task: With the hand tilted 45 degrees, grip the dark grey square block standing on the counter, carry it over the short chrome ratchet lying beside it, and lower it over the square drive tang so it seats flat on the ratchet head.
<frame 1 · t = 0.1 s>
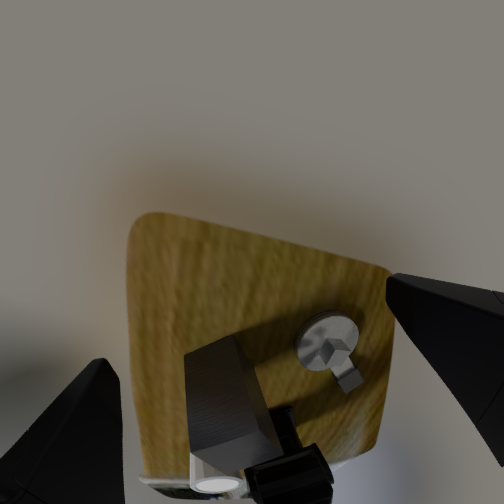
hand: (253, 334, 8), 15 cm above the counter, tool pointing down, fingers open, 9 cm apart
dark grey square block: (219, 362, 26), on the counter
white tapered cup: (209, 444, 32), on the counter
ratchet: (323, 337, 28), on the counter
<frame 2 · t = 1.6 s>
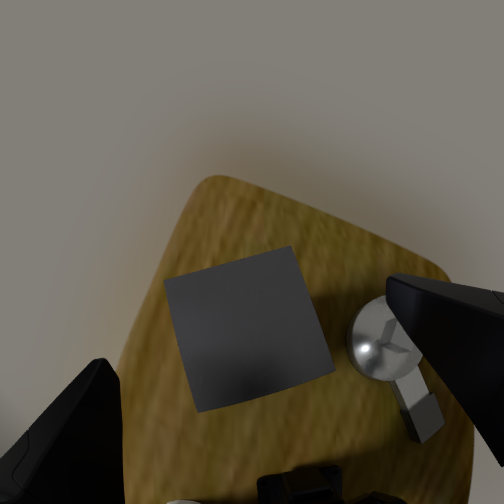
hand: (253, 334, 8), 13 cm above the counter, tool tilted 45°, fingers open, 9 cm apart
dark grey square block: (247, 346, 20), on the counter
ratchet: (383, 339, 20), on the counter
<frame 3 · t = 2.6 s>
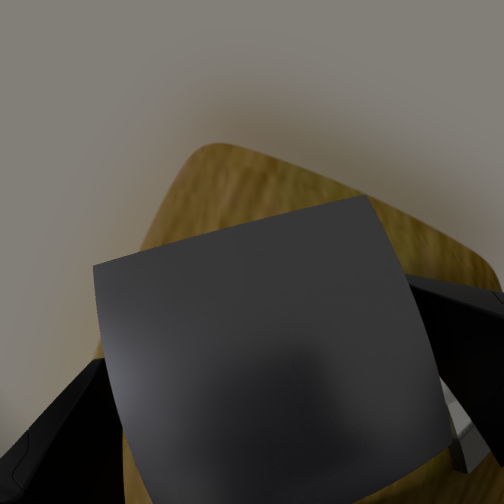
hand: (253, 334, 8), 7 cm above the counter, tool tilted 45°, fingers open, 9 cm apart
dark grey square block: (257, 369, 14), on the counter
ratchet: (432, 352, 14), on the counter
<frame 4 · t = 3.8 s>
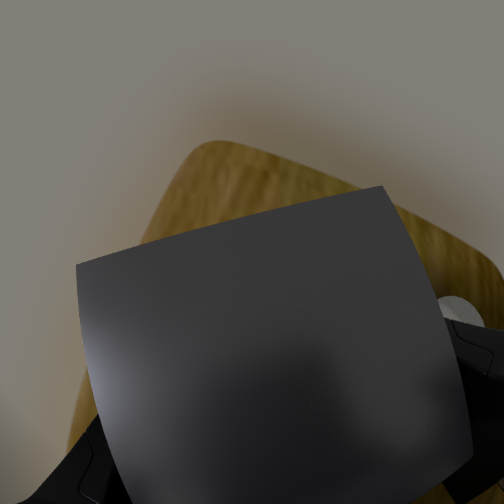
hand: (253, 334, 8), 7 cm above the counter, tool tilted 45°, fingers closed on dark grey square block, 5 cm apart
dark grey square block: (258, 374, 13), on the counter, touching gripper
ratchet: (438, 355, 13), on the counter
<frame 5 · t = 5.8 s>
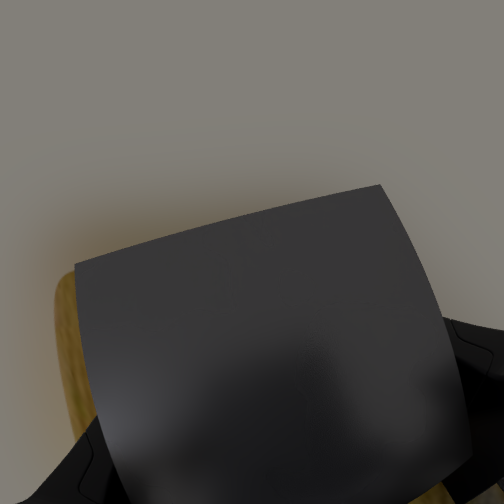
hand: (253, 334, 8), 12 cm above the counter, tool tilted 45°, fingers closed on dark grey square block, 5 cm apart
dark grey square block: (258, 373, 13), point 6 cm above the counter, touching gripper
when the fingers open (9 cm above the counter, at t = 7.6 s): dark grey square block drops 1 cm, resting on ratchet.
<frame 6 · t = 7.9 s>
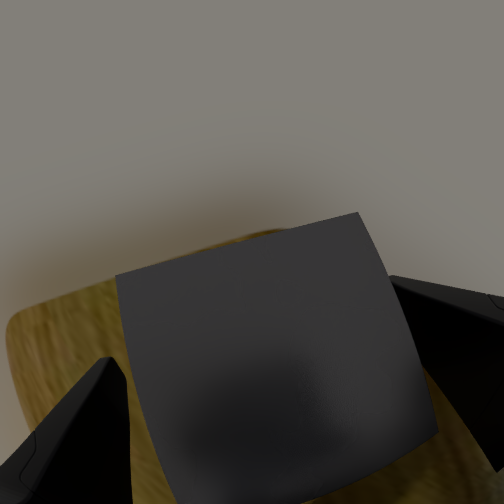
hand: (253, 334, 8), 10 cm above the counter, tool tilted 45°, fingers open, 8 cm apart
dark grey square block: (257, 371, 14), point 2 cm above the counter, touching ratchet
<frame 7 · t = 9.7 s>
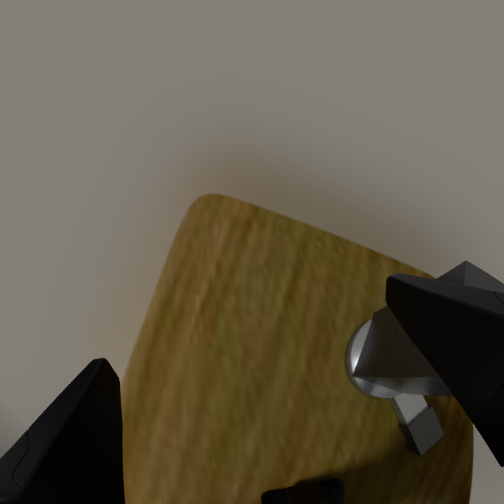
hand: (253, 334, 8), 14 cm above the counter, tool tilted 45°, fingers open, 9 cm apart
dark grey square block: (391, 354, 18), point 2 cm above the counter, touching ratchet
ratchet: (382, 356, 20), on the counter
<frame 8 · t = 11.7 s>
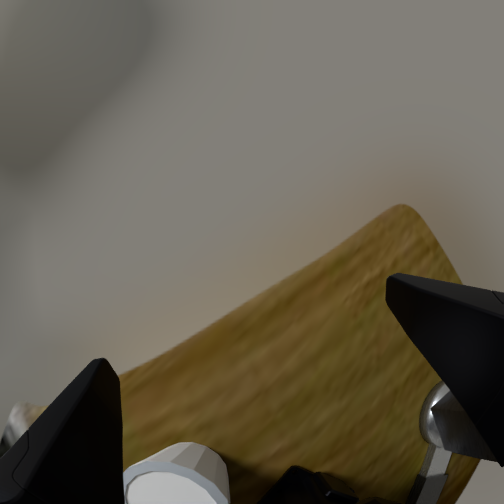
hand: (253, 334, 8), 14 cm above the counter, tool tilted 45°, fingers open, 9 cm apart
dark grey square block: (457, 411, 16), point 2 cm above the counter, touching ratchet
white tapered cup: (192, 471, 16), on the counter
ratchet: (446, 411, 17), on the counter
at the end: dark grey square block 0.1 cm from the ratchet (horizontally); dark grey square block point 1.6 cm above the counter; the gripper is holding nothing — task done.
